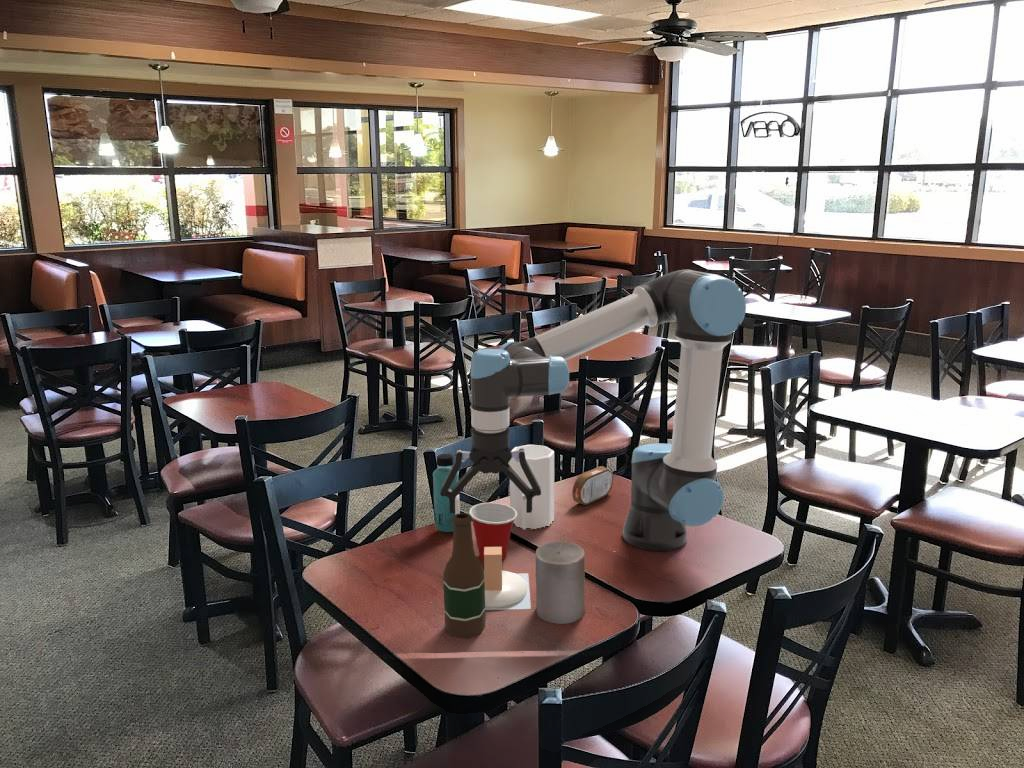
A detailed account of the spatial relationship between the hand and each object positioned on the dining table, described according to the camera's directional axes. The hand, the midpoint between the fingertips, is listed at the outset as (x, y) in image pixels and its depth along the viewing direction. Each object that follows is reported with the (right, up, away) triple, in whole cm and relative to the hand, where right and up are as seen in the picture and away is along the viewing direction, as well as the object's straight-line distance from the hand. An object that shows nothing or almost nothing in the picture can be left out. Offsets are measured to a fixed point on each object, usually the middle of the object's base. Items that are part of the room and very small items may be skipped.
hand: (491, 527), depth 167 cm
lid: (+1, -14, +4) cm, 15 cm away
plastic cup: (0, -11, +19) cm, 22 cm away
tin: (+26, -2, +53) cm, 59 cm away
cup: (+9, -6, +40) cm, 41 cm away
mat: (+1, -15, +4) cm, 15 cm away
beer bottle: (-5, -19, -10) cm, 21 cm away
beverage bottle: (-11, -7, +34) cm, 37 cm away
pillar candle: (+14, -17, -4) cm, 22 cm away
